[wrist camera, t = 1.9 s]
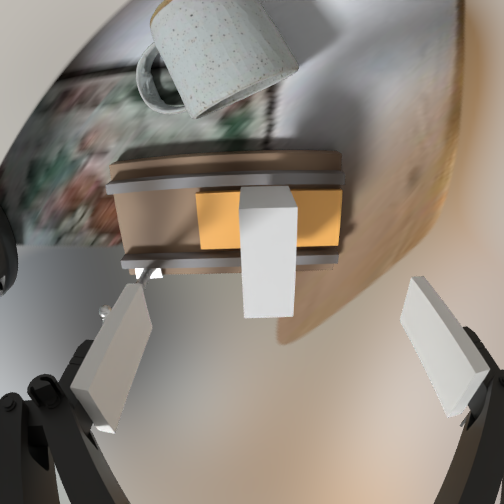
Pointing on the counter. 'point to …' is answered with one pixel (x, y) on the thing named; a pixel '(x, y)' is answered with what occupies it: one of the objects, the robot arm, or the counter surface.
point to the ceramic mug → (213, 54)
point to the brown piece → (185, 210)
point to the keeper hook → (143, 279)
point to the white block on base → (268, 237)
